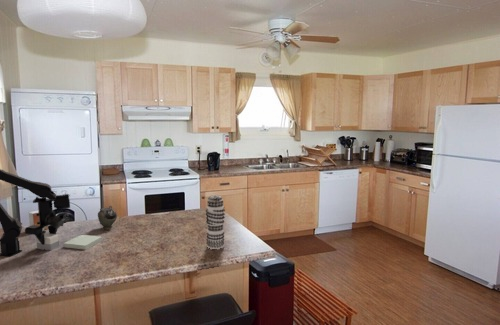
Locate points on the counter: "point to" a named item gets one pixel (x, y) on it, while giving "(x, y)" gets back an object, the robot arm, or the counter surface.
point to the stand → (83, 242)
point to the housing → (49, 242)
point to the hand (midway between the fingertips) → (48, 242)
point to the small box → (34, 219)
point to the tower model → (215, 222)
